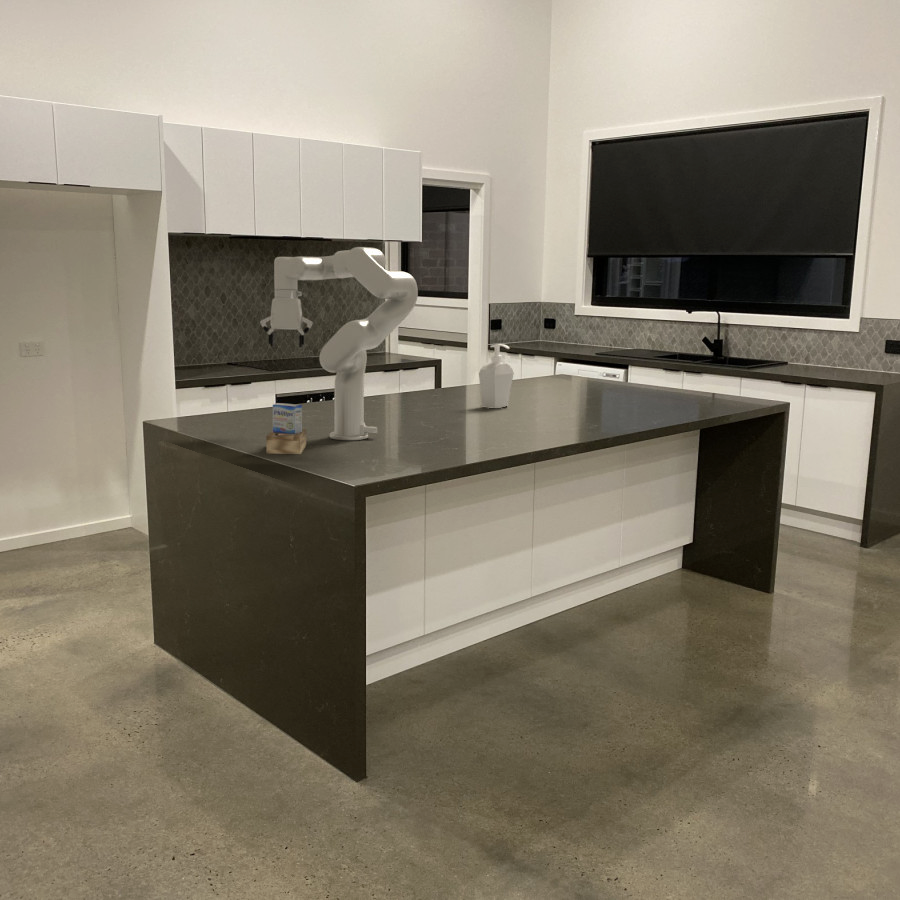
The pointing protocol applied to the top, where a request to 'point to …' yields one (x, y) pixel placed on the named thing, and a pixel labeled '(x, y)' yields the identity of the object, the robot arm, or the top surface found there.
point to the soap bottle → (496, 380)
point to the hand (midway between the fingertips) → (286, 346)
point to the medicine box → (287, 418)
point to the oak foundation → (286, 443)
